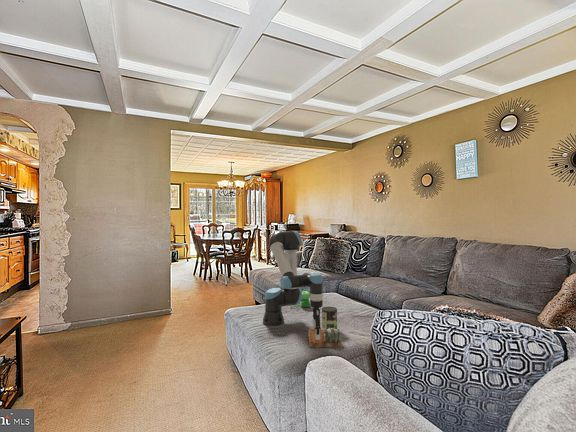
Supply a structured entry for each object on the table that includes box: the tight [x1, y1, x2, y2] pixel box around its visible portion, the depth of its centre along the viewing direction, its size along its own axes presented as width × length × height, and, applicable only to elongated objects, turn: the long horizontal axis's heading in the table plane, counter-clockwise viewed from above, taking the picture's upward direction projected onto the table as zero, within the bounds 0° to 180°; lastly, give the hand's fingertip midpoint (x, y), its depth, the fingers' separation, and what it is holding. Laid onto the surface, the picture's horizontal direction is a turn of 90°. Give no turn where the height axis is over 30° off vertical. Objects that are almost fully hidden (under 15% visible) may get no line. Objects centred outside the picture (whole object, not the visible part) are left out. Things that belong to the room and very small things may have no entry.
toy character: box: [290, 289, 311, 309], centre depth 250 cm, size 10×18×13 cm, turn 93°
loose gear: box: [308, 327, 325, 344], centre depth 182 cm, size 9×9×6 cm
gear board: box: [307, 328, 344, 349], centre depth 182 cm, size 19×14×8 cm
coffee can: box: [321, 306, 338, 333], centre depth 201 cm, size 10×10×14 cm
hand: (316, 334), depth 182 cm, fingers open, 13 cm apart
